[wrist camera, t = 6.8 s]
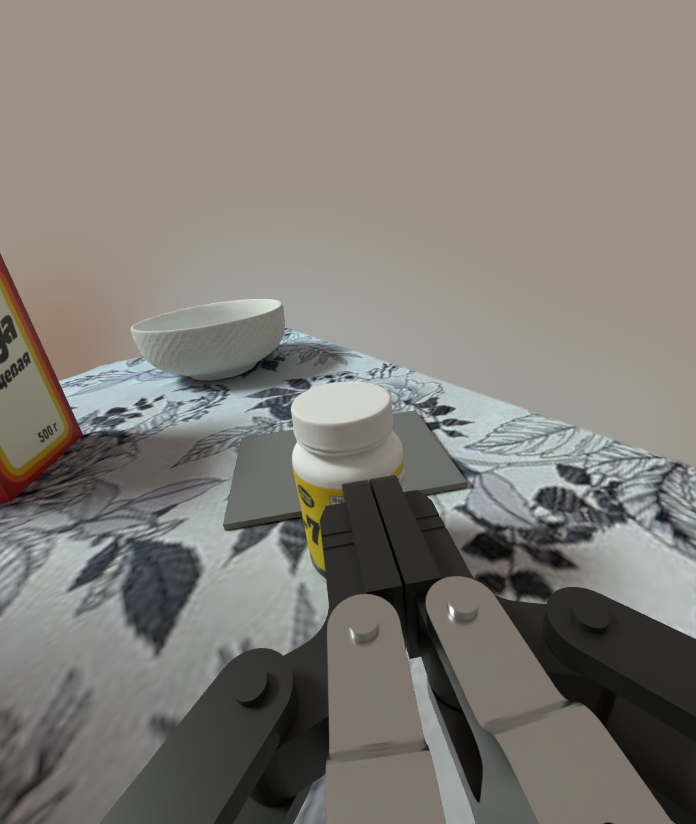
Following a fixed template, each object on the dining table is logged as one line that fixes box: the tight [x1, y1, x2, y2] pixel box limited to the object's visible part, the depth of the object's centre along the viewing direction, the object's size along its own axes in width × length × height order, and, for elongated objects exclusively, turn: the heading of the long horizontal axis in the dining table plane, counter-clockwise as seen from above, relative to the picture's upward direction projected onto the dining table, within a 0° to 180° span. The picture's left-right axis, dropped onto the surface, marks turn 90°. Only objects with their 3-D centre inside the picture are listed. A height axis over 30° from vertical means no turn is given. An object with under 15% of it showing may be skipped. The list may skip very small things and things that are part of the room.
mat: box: [223, 410, 467, 530], centre depth 27 cm, size 10×14×1 cm
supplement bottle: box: [291, 382, 405, 584], centre depth 17 cm, size 5×5×8 cm
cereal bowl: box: [131, 299, 285, 381], centre depth 47 cm, size 17×17×7 cm
